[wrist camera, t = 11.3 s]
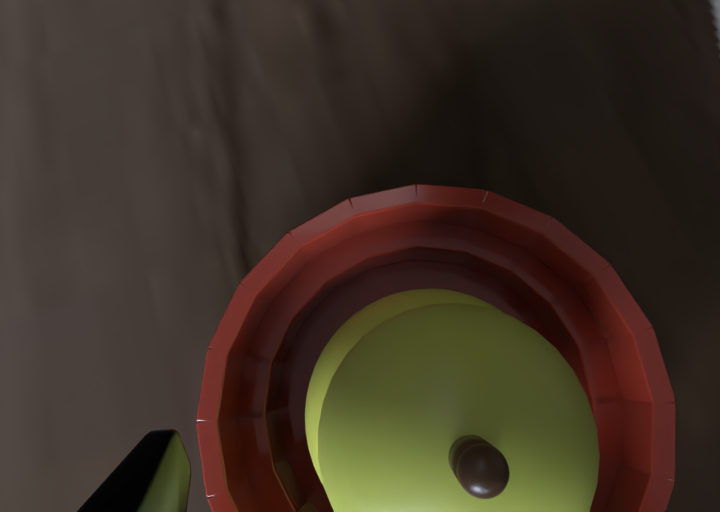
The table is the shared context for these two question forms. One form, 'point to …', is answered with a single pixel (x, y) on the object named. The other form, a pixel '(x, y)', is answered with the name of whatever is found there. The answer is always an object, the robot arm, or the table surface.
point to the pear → (448, 412)
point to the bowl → (423, 271)
